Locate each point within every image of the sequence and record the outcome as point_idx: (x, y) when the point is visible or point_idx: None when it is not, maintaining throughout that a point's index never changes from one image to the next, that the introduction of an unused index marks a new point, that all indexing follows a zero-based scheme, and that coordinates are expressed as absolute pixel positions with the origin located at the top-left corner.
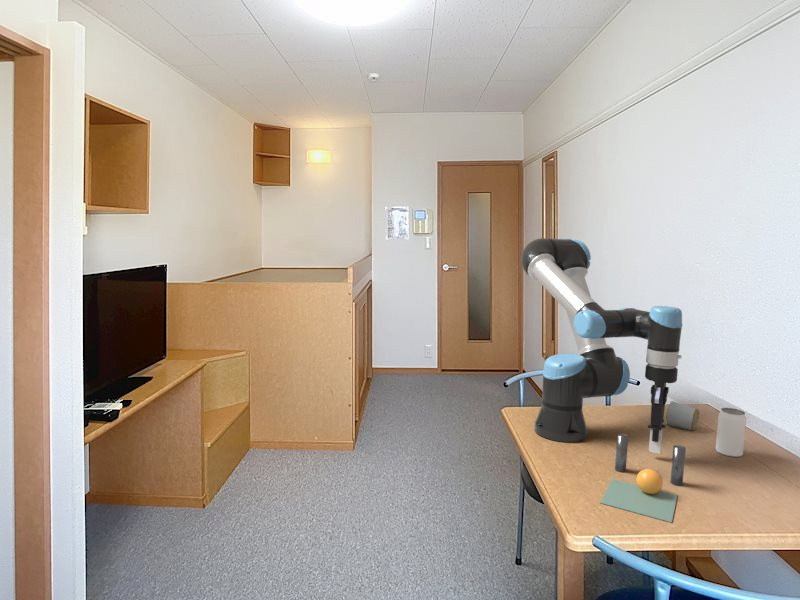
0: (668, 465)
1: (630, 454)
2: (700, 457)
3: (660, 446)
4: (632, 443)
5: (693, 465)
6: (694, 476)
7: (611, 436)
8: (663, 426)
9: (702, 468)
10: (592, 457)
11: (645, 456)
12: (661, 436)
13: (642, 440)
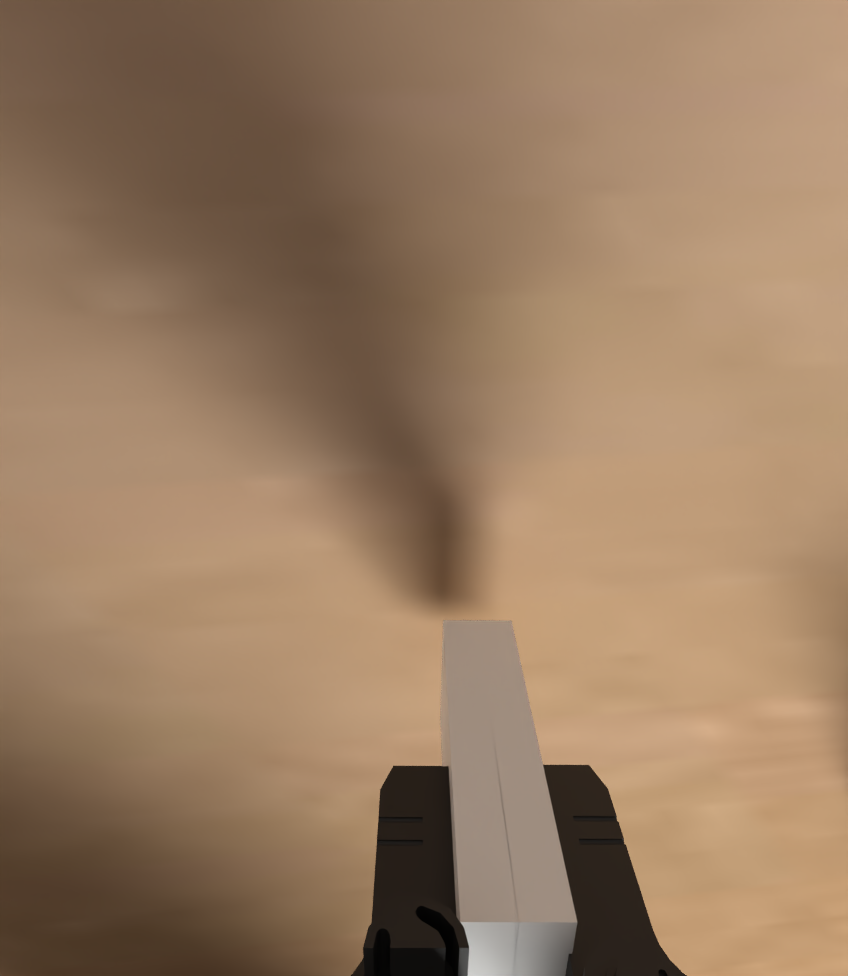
0: (584, 486)
1: None
2: (33, 146)
3: (522, 683)
4: (174, 804)
5: (416, 227)
6: (798, 201)
7: (132, 938)
8: (467, 966)
9: (456, 107)
10: (717, 964)
11: None
12: (516, 798)
13: (7, 749)
